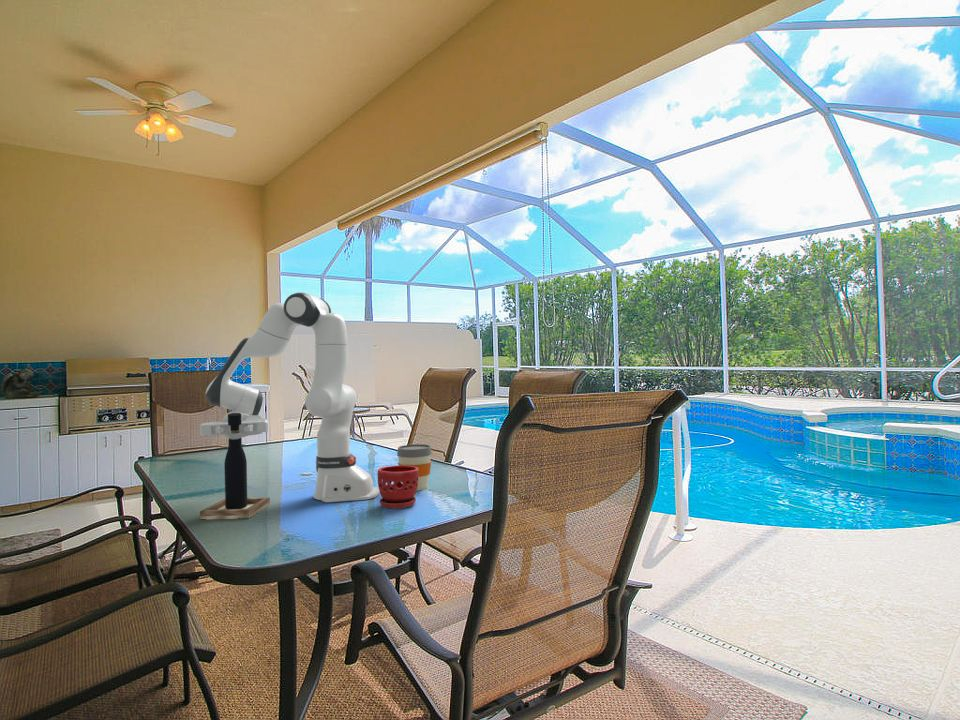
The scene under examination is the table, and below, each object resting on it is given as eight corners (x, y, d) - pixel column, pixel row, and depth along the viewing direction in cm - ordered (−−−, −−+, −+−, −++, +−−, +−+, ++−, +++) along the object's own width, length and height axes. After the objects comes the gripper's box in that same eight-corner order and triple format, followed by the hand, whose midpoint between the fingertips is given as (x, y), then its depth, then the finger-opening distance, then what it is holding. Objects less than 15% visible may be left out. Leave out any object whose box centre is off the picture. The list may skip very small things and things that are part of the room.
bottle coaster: (269, 505, 173) (269, 497, 173) (249, 518, 158) (248, 510, 158) (225, 506, 174) (224, 498, 174) (200, 519, 159) (199, 511, 159)
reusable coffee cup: (430, 491, 186) (429, 449, 186) (395, 492, 186) (394, 450, 186) (434, 483, 198) (433, 443, 198) (401, 484, 198) (400, 444, 198)
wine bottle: (251, 504, 169) (250, 413, 166) (236, 511, 164) (234, 417, 160) (236, 500, 172) (235, 411, 168) (220, 507, 166) (218, 415, 162)
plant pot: (413, 510, 162) (412, 472, 162) (372, 510, 163) (371, 472, 163) (423, 499, 175) (422, 463, 175) (385, 499, 176) (384, 464, 176)
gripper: (200, 418, 174) (196, 422, 161) (266, 414, 182) (268, 418, 169) (200, 437, 174) (197, 442, 161) (267, 432, 182) (268, 437, 169)
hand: (234, 430), depth 165 cm, fingers open, 6 cm apart
